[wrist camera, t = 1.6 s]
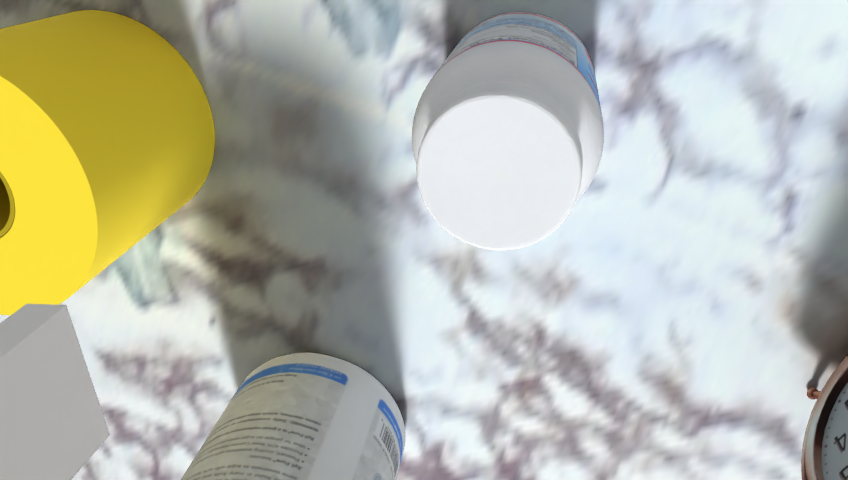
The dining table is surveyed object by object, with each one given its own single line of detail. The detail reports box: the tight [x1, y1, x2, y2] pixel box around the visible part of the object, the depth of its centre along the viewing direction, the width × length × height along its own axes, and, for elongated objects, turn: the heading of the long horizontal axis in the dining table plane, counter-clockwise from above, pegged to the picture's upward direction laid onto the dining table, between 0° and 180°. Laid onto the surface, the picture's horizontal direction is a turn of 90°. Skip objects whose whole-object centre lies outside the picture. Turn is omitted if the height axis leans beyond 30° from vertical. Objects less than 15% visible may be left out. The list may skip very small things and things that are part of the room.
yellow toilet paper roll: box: [0, 10, 215, 315], centre depth 30 cm, size 10×10×9 cm
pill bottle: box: [412, 12, 604, 250], centre depth 25 cm, size 6×6×11 cm
